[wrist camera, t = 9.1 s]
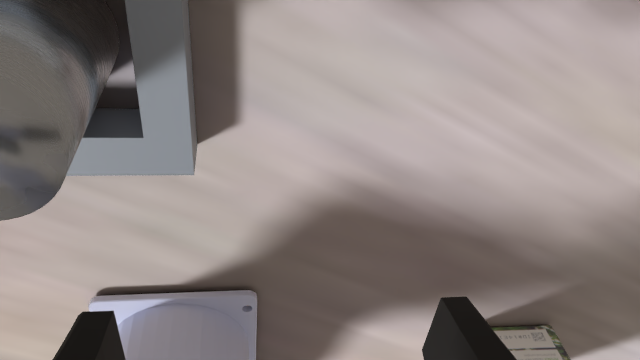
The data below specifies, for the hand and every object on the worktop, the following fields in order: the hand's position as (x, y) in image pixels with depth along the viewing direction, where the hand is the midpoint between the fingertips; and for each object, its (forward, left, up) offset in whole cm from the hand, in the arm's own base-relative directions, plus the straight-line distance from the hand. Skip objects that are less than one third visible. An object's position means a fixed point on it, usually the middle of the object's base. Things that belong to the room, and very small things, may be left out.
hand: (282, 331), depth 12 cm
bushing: (+3, +7, -10) cm, 13 cm away
